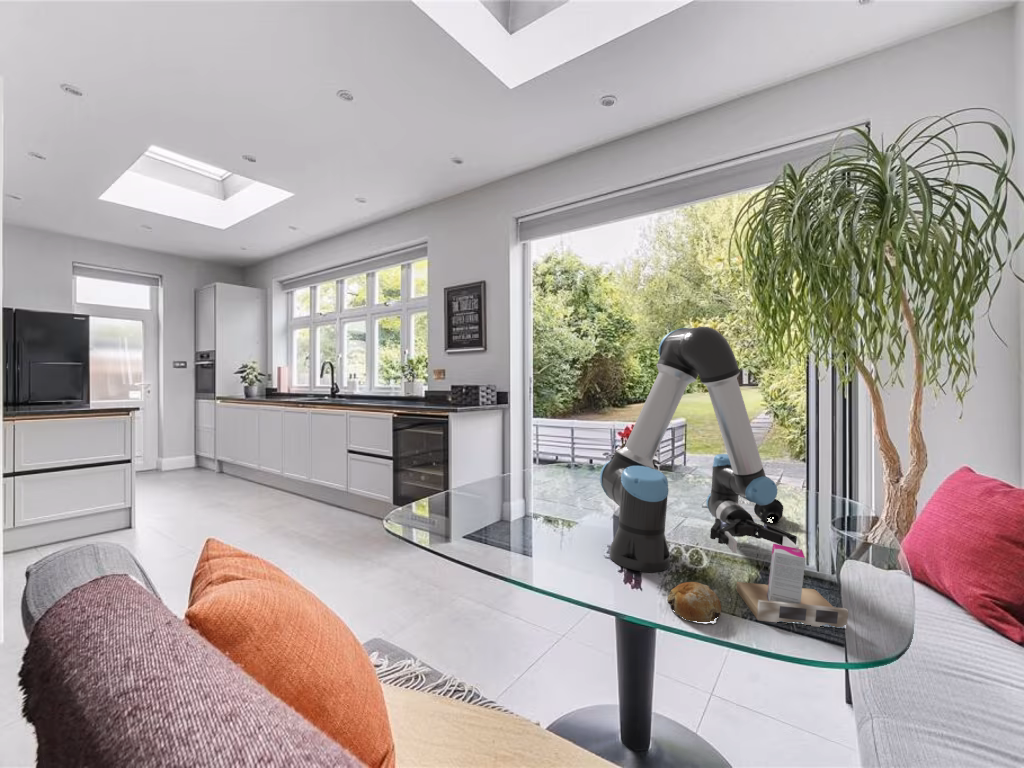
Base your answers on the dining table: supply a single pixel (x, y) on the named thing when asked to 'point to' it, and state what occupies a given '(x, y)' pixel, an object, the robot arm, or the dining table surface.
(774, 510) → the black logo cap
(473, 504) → the dining table surface
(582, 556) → the dining table surface
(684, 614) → the bread roll
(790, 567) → the supplement box
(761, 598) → the tan slab
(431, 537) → the dining table surface
